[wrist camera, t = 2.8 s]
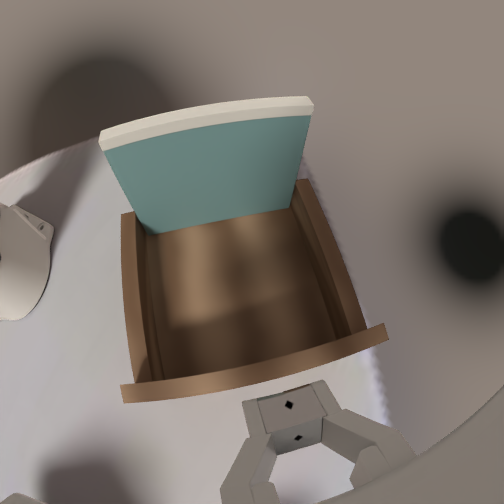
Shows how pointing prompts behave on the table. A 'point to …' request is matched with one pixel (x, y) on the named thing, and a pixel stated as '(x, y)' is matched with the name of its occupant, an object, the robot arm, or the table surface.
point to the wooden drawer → (237, 301)
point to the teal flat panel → (209, 160)
